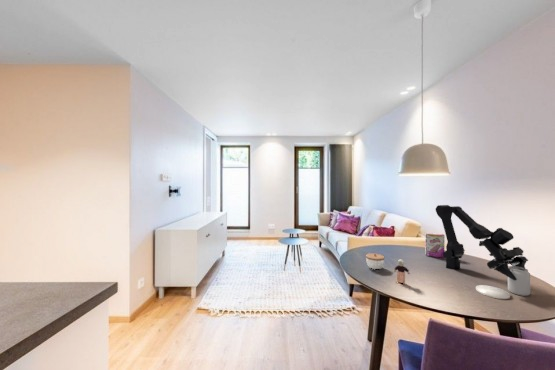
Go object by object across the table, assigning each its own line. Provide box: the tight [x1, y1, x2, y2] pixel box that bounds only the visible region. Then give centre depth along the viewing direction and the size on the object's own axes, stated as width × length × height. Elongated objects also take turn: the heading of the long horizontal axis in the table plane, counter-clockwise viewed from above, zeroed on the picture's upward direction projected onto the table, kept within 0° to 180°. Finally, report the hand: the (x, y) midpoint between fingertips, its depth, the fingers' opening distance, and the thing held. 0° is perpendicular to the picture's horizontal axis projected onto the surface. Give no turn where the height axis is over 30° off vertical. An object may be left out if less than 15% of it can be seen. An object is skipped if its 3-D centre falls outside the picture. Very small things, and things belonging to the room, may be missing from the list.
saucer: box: [475, 284, 511, 300], centre depth 109 cm, size 12×12×1 cm
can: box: [506, 265, 531, 297], centre depth 109 cm, size 8×8×12 cm
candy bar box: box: [424, 232, 445, 259], centre depth 164 cm, size 11×5×16 cm, turn 65°
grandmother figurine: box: [393, 259, 411, 285], centre depth 122 cm, size 8×4×13 cm, turn 66°
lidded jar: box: [365, 252, 385, 270], centre depth 143 cm, size 11×11×9 cm
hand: (522, 279), depth 107 cm, fingers closed on can, 7 cm apart
